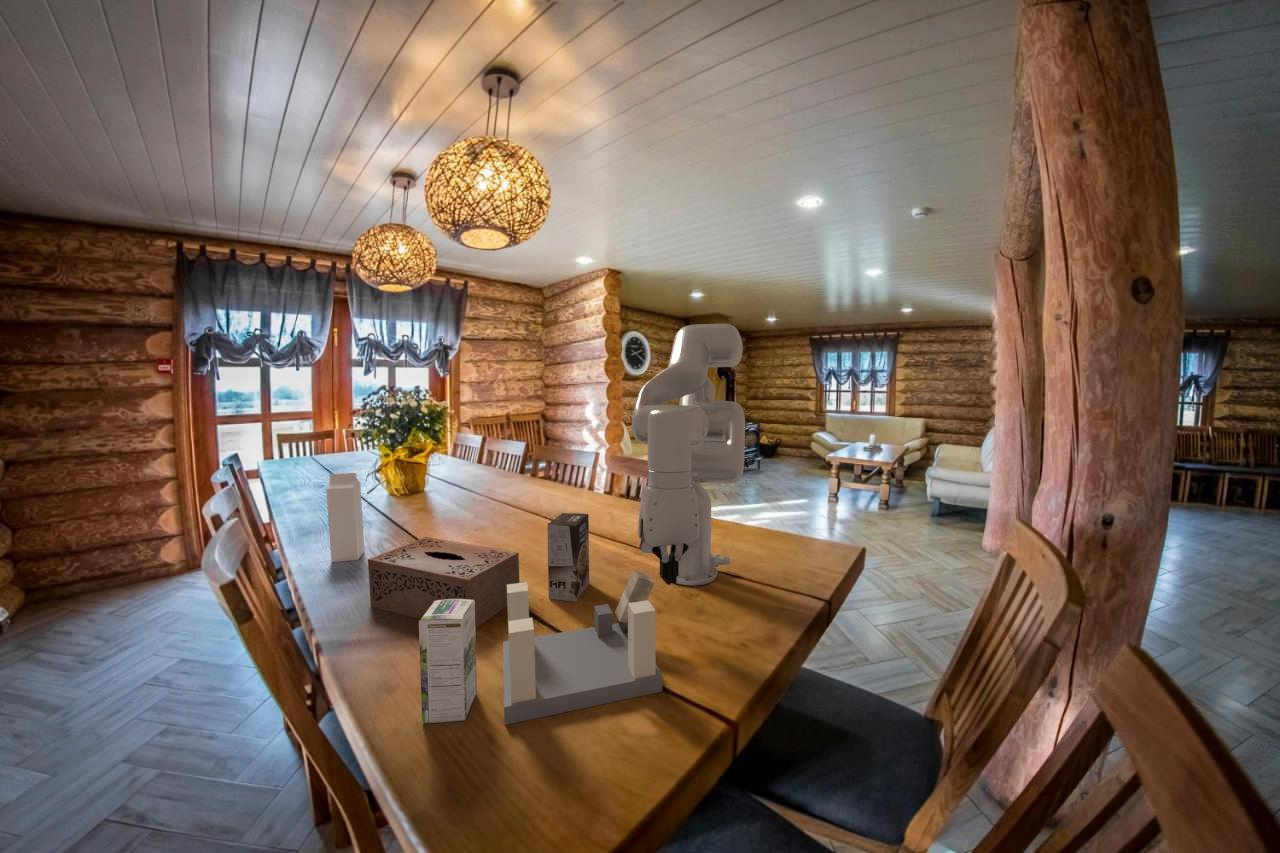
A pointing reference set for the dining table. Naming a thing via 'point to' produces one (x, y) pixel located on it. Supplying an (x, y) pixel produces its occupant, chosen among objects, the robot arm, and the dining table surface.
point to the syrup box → (448, 660)
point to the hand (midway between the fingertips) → (669, 581)
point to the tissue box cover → (442, 577)
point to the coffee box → (568, 556)
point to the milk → (345, 517)
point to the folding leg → (633, 596)
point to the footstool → (576, 661)
